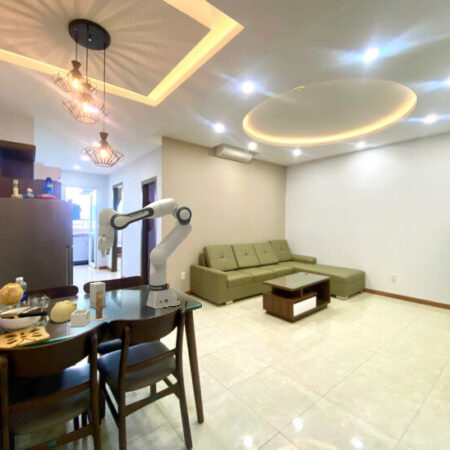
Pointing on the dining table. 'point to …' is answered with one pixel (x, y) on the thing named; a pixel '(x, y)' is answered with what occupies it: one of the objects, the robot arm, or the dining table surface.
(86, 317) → the pen cup
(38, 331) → the dining table surface
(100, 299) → the dowel
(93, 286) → the skincare box
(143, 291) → the dining table surface
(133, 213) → the robot arm
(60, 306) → the pale yellow rounded lump
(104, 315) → the coaster
